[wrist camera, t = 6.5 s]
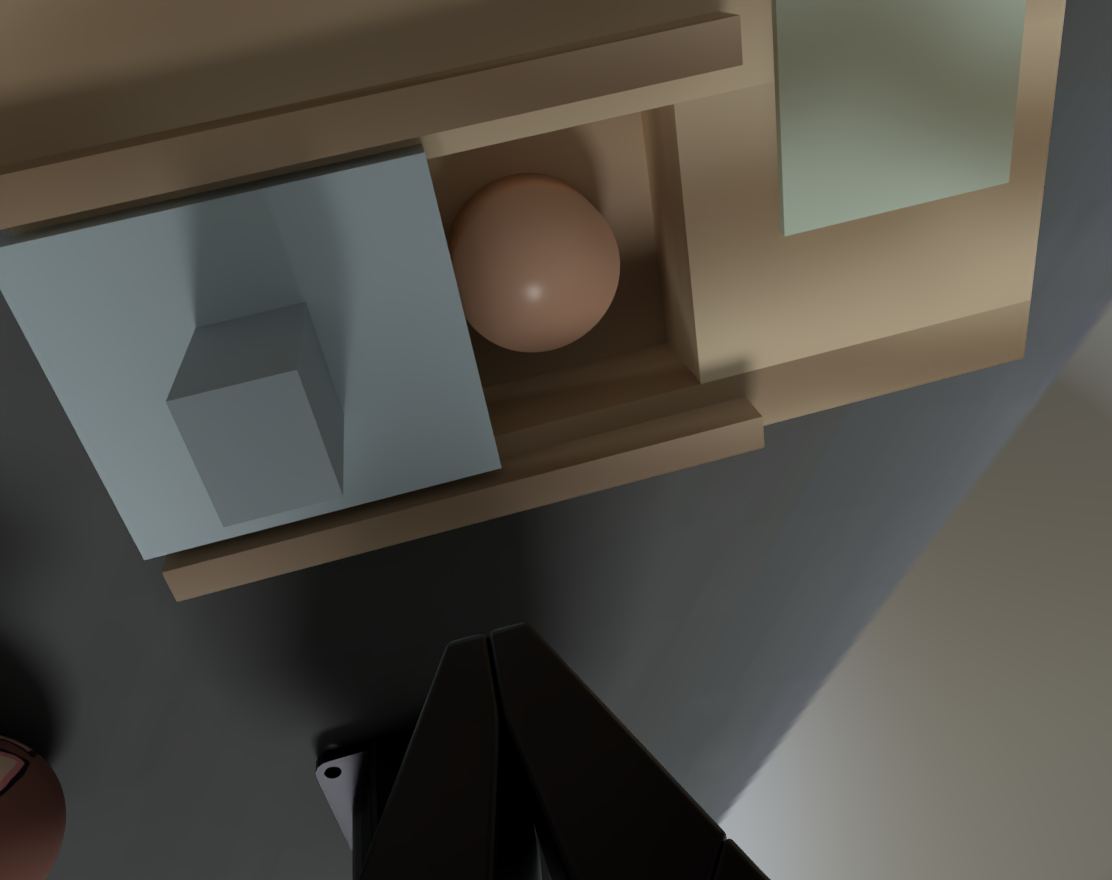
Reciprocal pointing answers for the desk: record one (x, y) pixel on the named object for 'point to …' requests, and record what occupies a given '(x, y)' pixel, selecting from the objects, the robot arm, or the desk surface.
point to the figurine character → (28, 813)
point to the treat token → (533, 262)
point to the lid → (258, 348)
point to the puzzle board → (594, 197)
